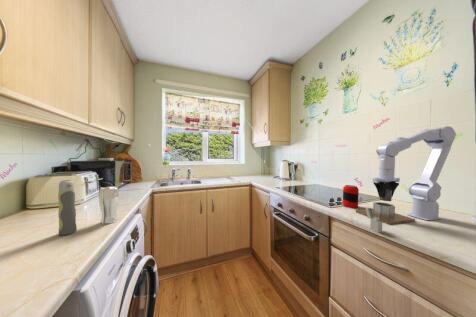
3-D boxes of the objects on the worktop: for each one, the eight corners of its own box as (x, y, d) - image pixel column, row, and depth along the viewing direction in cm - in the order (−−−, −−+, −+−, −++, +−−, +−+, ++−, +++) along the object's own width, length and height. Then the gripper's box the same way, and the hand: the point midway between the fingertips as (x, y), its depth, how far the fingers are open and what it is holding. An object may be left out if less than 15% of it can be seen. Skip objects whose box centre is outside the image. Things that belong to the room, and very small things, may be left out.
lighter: (382, 233, 68) (383, 212, 67) (377, 232, 68) (378, 212, 67) (368, 225, 75) (369, 207, 75) (364, 225, 75) (365, 207, 75)
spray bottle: (61, 237, 62) (59, 182, 62) (56, 234, 65) (55, 180, 64) (78, 231, 67) (77, 180, 66) (73, 229, 69) (72, 179, 68)
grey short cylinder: (384, 198, 87) (384, 188, 87) (393, 200, 83) (394, 190, 82) (377, 199, 86) (377, 189, 86) (386, 201, 82) (387, 190, 81)
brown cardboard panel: (379, 210, 95) (379, 199, 95) (415, 221, 80) (415, 208, 79) (355, 212, 91) (356, 200, 91) (388, 224, 76) (388, 210, 76)
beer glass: (122, 220, 79) (122, 187, 78) (105, 225, 72) (104, 190, 72) (113, 217, 81) (112, 185, 81) (96, 222, 75) (95, 188, 75)
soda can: (343, 203, 107) (343, 184, 106) (358, 205, 102) (358, 185, 102) (342, 206, 101) (342, 186, 100) (357, 209, 96) (358, 187, 96)
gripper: (389, 168, 89) (388, 194, 90) (366, 168, 86) (365, 195, 86) (405, 169, 83) (404, 197, 83) (381, 170, 79) (380, 199, 80)
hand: (385, 197), depth 84 cm, fingers closed on grey short cylinder, 4 cm apart
